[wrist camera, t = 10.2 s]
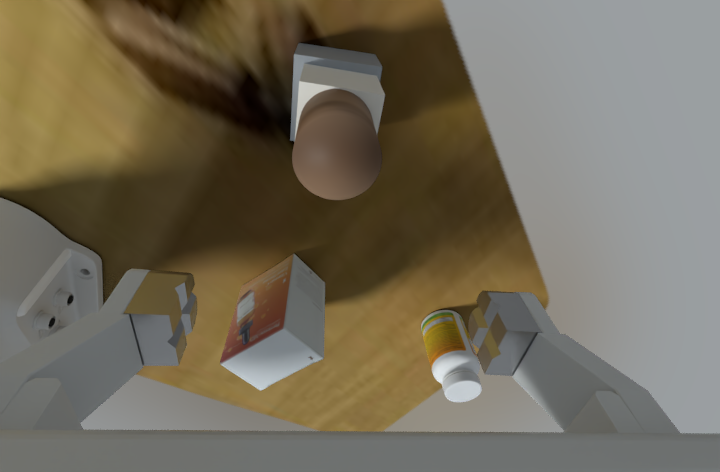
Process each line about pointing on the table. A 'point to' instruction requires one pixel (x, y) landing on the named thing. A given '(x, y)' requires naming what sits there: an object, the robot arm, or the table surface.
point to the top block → (330, 78)
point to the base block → (331, 60)
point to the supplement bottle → (451, 355)
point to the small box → (277, 324)
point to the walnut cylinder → (336, 146)
